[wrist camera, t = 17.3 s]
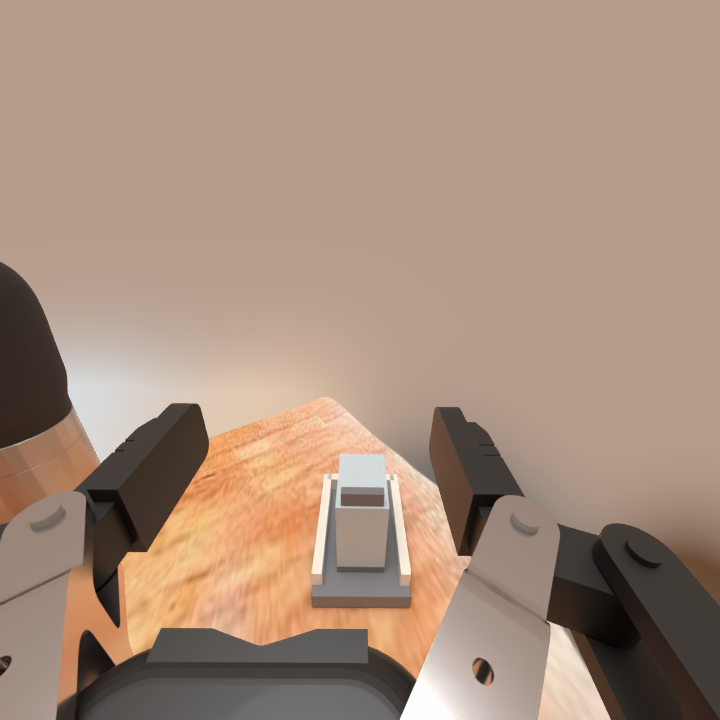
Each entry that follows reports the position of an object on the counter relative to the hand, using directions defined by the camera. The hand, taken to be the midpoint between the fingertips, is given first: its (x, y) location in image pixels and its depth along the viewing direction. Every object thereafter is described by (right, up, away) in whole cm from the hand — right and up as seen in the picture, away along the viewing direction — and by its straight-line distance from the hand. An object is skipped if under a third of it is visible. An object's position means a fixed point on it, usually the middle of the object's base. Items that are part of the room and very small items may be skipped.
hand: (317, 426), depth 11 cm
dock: (+2, -20, +27) cm, 34 cm away
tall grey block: (+2, -19, +25) cm, 32 cm away
